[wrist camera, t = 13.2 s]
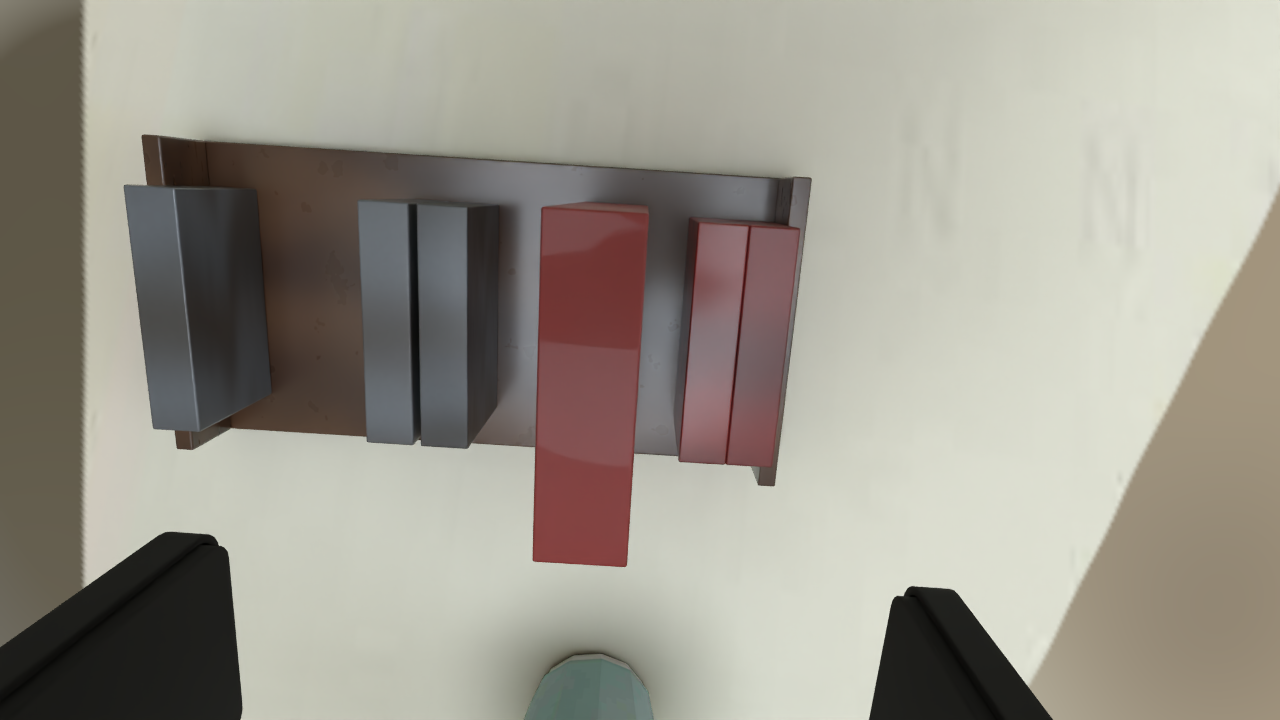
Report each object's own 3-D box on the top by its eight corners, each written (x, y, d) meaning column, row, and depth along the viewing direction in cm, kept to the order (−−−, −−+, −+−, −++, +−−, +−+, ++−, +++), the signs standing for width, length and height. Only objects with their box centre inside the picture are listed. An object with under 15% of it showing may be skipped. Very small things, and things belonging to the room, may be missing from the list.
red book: (584, 201, 31) (540, 206, 18) (648, 205, 31) (649, 213, 18) (575, 424, 34) (531, 562, 21) (634, 428, 34) (626, 568, 21)
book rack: (202, 141, 31) (88, 128, 25) (791, 179, 32) (828, 176, 25) (228, 421, 35) (134, 472, 28) (760, 454, 35) (786, 512, 29)
